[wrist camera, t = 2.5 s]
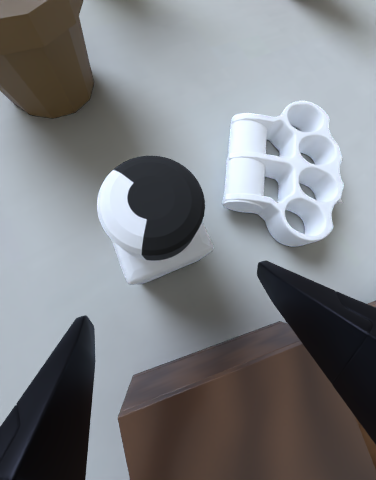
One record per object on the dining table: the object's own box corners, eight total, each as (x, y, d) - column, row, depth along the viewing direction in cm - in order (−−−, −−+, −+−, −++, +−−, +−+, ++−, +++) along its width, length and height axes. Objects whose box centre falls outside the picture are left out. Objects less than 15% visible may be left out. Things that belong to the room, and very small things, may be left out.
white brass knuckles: (230, 109, 27) (329, 130, 28) (216, 235, 23) (333, 253, 24) (238, 85, 24) (350, 109, 25) (225, 227, 20) (359, 249, 21)
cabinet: (279, 321, 22) (323, 335, 16) (324, 445, 20) (395, 518, 14) (132, 375, 19) (117, 417, 13) (166, 525, 17) (166, 659, 11)
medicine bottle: (176, 203, 23) (186, 124, 12) (200, 259, 22) (238, 234, 11) (117, 225, 22) (62, 160, 10) (140, 285, 21) (107, 288, 9)
